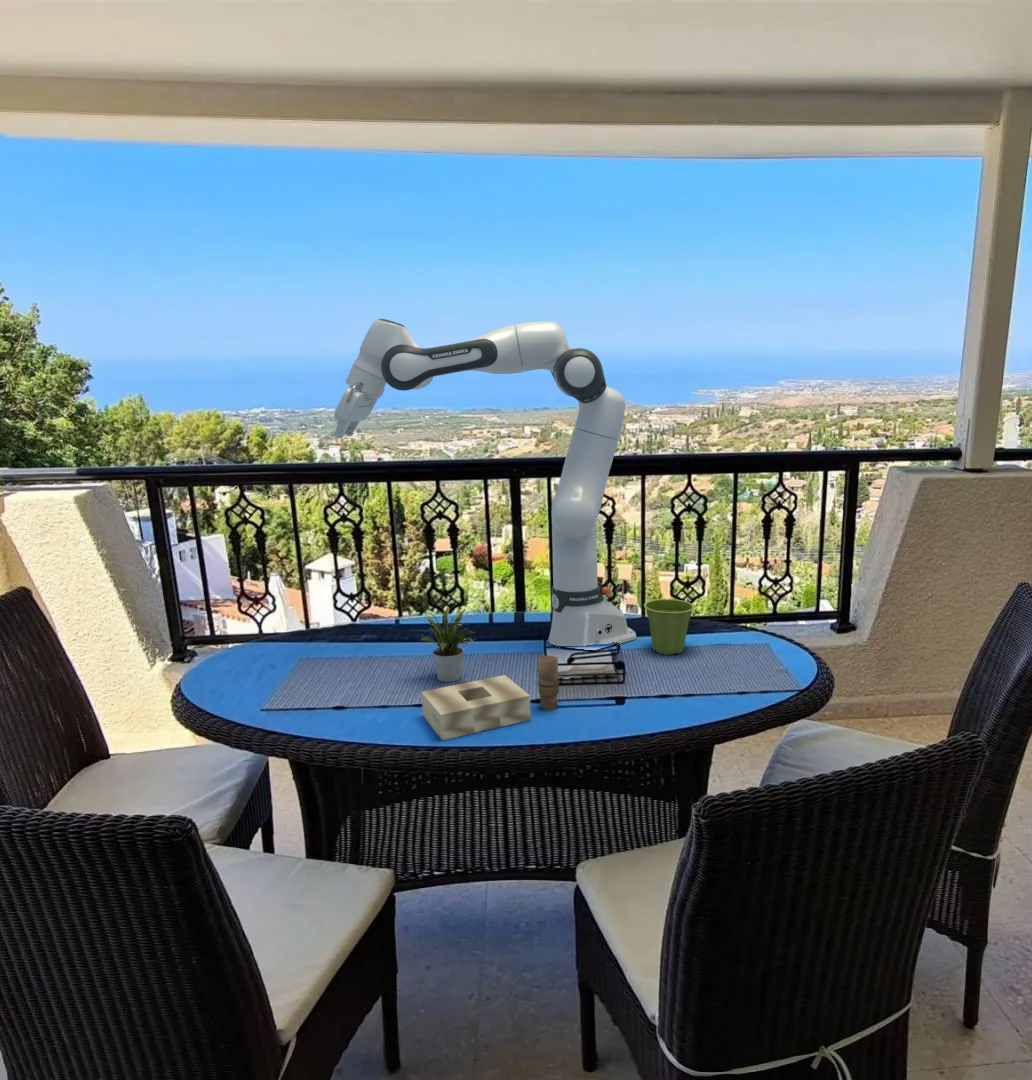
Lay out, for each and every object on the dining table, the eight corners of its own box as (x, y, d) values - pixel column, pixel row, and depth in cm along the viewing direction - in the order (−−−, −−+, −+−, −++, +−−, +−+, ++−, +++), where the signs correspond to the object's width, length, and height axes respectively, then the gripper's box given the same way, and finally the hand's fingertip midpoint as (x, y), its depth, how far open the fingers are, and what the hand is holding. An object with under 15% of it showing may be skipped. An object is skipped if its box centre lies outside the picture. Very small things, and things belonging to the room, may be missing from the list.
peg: (553, 700, 150) (552, 654, 148) (563, 707, 146) (562, 660, 144) (535, 704, 148) (533, 657, 146) (544, 712, 144) (543, 664, 142)
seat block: (505, 697, 152) (505, 675, 151) (530, 719, 141) (529, 695, 140) (422, 715, 145) (421, 691, 144) (442, 740, 134) (440, 714, 133)
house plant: (417, 695, 154) (412, 621, 151) (408, 672, 168) (404, 604, 164) (482, 686, 158) (479, 614, 155) (469, 664, 171) (466, 597, 168)
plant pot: (698, 658, 170) (699, 611, 168) (647, 659, 171) (647, 613, 168) (688, 641, 182) (688, 597, 180) (640, 642, 182) (640, 599, 180)
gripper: (367, 389, 165) (343, 445, 167) (385, 389, 185) (364, 438, 187) (342, 377, 164) (318, 432, 167) (363, 378, 184) (341, 427, 187)
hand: (342, 435), depth 177 cm, fingers open, 8 cm apart
